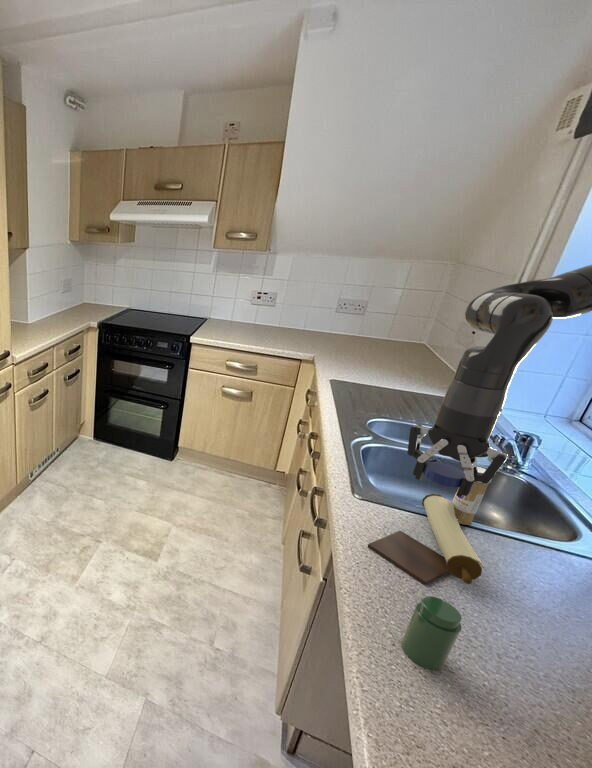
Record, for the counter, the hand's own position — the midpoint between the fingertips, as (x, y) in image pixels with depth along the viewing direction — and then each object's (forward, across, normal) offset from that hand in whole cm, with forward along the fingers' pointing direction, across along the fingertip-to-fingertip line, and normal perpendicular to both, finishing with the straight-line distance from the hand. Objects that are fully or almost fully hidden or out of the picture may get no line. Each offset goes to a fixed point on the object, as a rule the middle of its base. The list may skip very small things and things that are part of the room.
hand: (439, 486), depth 79 cm
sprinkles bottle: (+18, +1, +24) cm, 30 cm away
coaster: (+18, 0, 0) cm, 18 cm away
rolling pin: (+17, +2, +11) cm, 21 cm away
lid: (-3, 0, 0) cm, 3 cm away
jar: (+18, +9, -23) cm, 30 cm away
